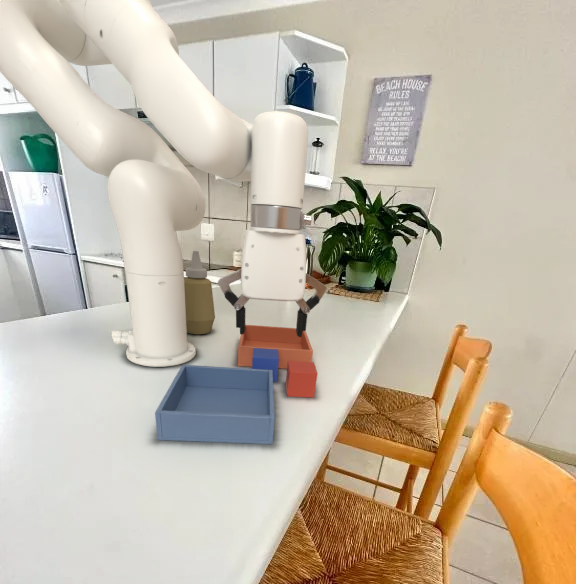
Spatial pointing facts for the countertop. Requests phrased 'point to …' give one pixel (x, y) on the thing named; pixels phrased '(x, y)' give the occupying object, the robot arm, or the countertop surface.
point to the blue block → (266, 360)
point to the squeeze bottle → (198, 298)
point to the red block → (301, 379)
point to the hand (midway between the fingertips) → (270, 333)
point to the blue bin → (218, 406)
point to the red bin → (274, 344)
